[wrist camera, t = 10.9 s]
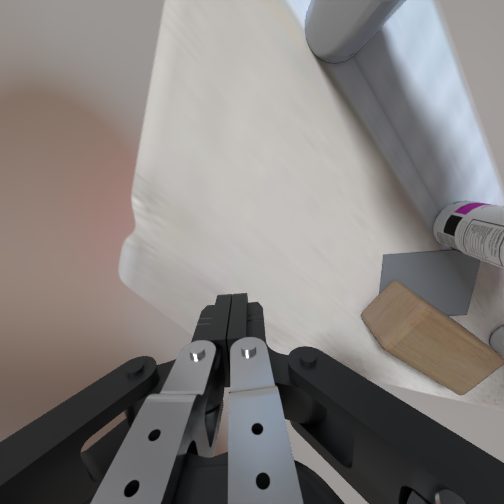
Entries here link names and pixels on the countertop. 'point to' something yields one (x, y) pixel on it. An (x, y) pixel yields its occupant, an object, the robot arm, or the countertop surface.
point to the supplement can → (473, 230)
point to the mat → (434, 277)
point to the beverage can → (498, 340)
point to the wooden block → (429, 339)
